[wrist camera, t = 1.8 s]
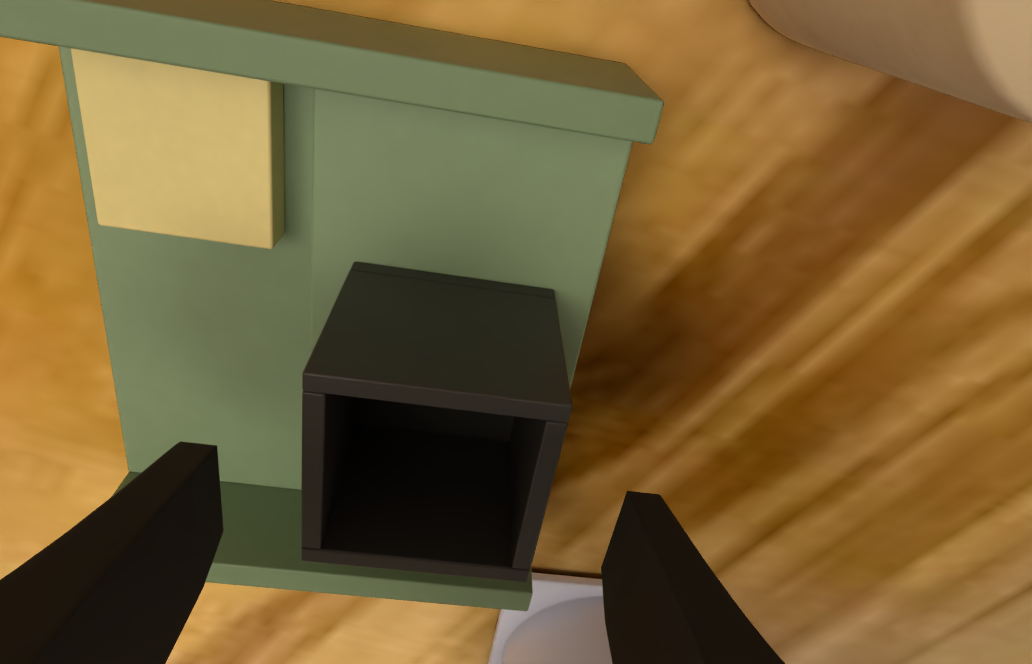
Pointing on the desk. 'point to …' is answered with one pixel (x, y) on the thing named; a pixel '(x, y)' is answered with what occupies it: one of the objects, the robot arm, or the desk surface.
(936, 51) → the candle
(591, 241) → the shelf
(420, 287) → the holder
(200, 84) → the note pad
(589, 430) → the desk surface
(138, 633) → the robot arm
